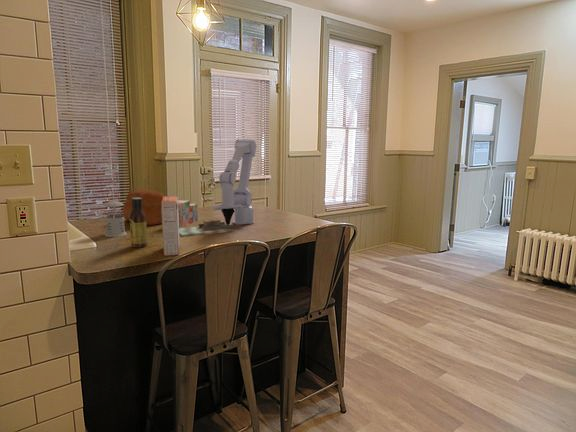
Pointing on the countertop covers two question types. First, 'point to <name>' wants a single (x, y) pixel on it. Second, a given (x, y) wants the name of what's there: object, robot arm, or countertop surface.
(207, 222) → the walnut block
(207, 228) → the channel rails
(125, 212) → the bread
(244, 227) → the countertop surface
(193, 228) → the chute board
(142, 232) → the sauce bottle
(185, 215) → the stack of blocks
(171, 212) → the cracker box
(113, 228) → the french press
